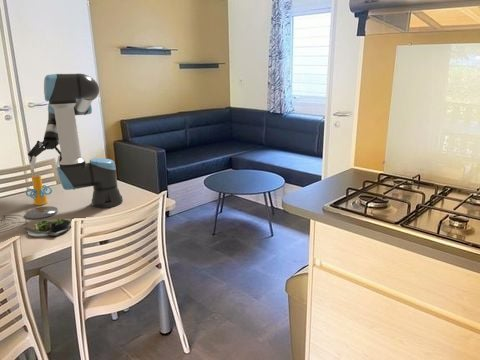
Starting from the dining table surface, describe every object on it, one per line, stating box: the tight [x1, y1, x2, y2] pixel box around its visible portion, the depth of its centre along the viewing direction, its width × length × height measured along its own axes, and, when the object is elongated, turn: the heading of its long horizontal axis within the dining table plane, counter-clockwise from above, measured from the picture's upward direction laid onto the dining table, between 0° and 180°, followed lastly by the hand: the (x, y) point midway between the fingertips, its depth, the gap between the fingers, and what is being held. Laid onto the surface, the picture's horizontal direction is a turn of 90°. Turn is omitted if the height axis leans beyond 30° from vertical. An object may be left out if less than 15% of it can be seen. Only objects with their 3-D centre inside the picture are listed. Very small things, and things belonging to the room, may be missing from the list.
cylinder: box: [25, 174, 53, 206], centre depth 196 cm, size 12×10×15 cm
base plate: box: [24, 205, 59, 220], centre depth 185 cm, size 14×14×1 cm
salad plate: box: [22, 218, 72, 238], centre depth 166 cm, size 19×18×5 cm
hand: (44, 167), depth 204 cm, fingers open, 13 cm apart
